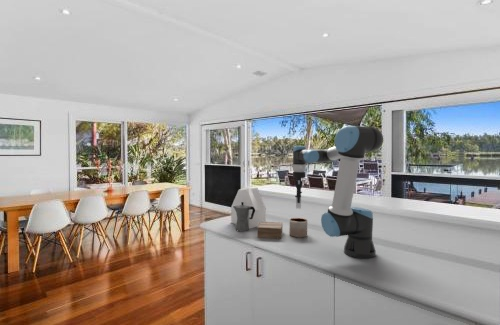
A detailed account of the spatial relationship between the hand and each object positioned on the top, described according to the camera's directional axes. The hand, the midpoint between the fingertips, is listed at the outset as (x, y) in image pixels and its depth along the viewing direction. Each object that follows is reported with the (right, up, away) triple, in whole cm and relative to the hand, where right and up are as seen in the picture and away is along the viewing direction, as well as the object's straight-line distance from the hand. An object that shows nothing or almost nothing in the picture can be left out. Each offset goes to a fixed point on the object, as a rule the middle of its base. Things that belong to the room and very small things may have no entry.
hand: (298, 205), depth 182 cm
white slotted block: (-31, -17, +27) cm, 45 cm away
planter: (0, -18, +1) cm, 18 cm away
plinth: (-17, -18, +2) cm, 25 cm away
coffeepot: (-34, -17, +12) cm, 40 cm away
